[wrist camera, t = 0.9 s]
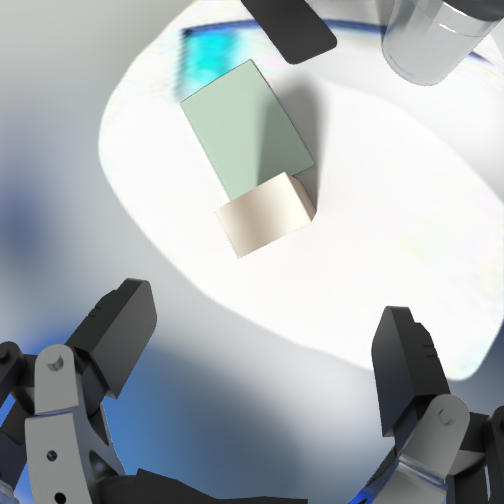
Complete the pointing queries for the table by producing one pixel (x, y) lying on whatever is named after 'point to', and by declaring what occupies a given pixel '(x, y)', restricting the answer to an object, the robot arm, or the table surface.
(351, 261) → the table surface
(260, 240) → the walnut block
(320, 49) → the phone
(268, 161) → the green mat
